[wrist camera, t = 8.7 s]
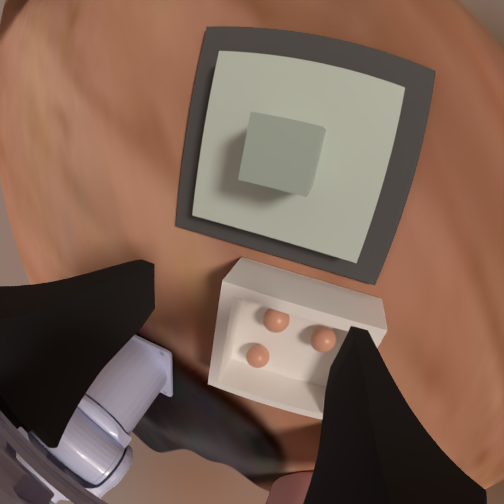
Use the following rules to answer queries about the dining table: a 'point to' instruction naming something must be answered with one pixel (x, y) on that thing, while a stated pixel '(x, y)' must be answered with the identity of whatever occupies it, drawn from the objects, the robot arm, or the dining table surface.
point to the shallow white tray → (284, 334)
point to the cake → (290, 488)
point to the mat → (335, 54)
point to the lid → (296, 150)
